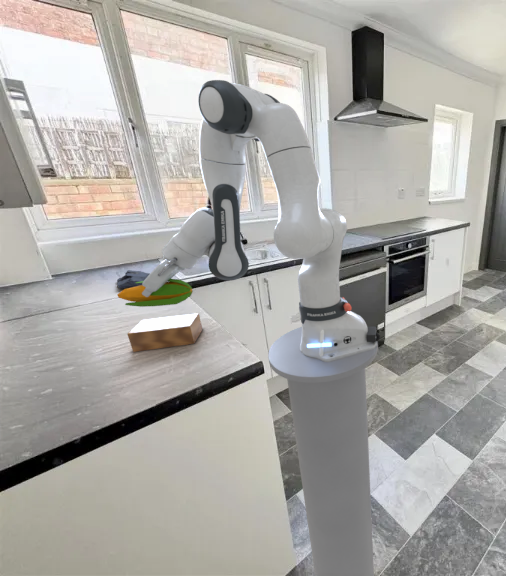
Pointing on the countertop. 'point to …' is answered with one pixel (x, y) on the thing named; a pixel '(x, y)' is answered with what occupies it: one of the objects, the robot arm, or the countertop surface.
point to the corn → (158, 294)
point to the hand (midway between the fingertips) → (151, 290)
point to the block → (165, 332)
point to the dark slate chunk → (132, 279)
